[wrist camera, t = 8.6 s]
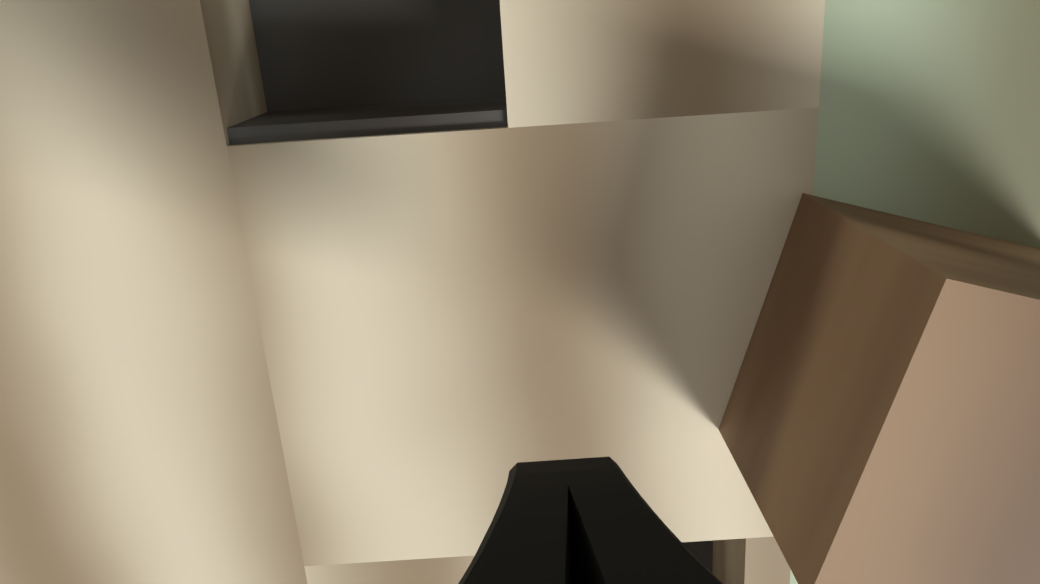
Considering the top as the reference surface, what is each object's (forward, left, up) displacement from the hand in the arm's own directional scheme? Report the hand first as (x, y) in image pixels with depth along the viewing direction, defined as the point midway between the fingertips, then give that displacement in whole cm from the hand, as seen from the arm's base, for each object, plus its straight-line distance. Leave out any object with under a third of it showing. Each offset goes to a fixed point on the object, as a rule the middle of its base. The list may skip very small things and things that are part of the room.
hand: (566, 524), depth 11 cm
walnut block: (+7, 0, -5) cm, 8 cm away
